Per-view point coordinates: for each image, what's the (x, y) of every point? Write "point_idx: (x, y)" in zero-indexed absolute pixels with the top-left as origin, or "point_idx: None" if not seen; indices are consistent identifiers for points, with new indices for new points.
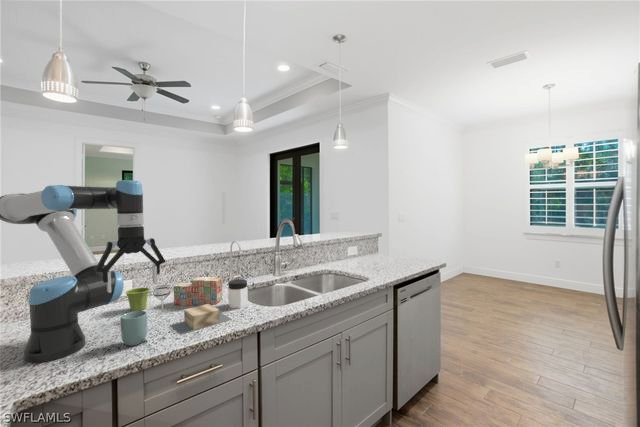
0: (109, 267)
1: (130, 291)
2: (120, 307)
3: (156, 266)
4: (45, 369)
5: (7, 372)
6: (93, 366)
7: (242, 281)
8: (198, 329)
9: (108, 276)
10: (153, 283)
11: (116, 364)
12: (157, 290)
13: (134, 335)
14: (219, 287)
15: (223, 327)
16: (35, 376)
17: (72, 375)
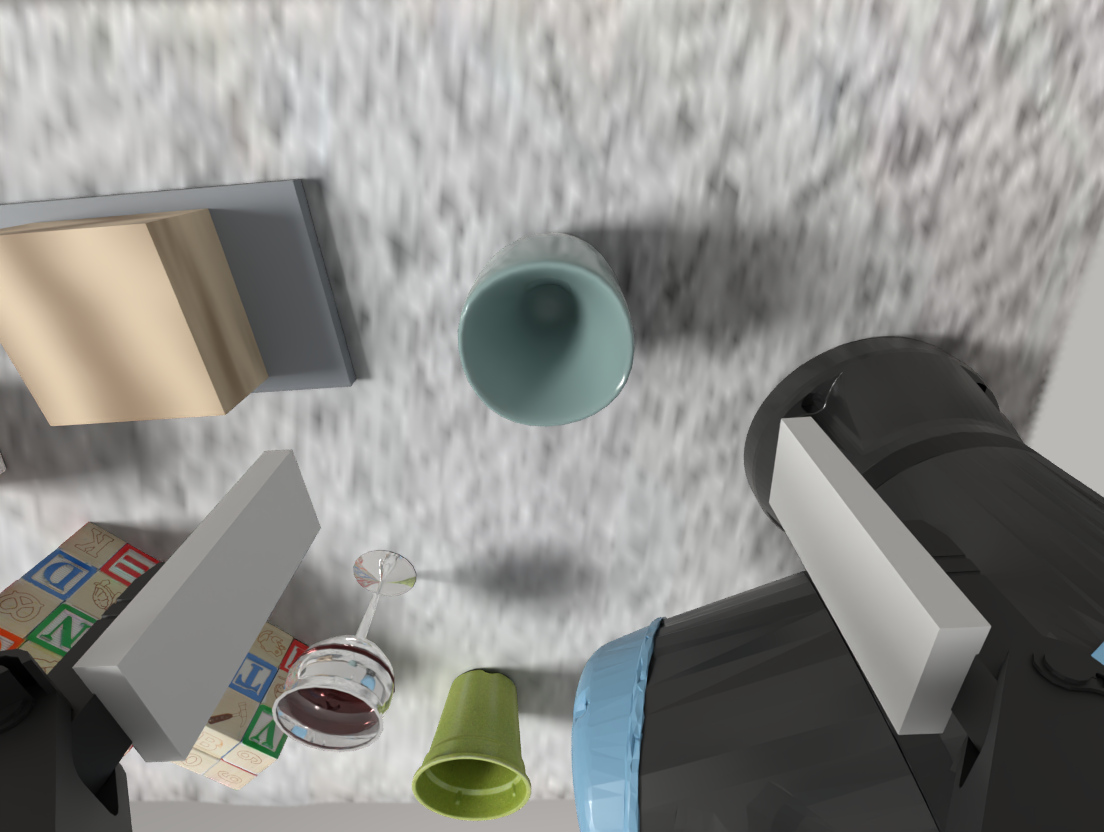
0: (1042, 747)
1: (505, 803)
2: (550, 741)
3: (81, 657)
4: (948, 249)
5: (1057, 333)
6: (779, 106)
7: None
8: (177, 192)
9: (932, 570)
10: (312, 505)
11: (679, 31)
12: (359, 688)
13: (557, 234)
14: None
15: (14, 152)
16: (1002, 193)
17: (886, 58)
